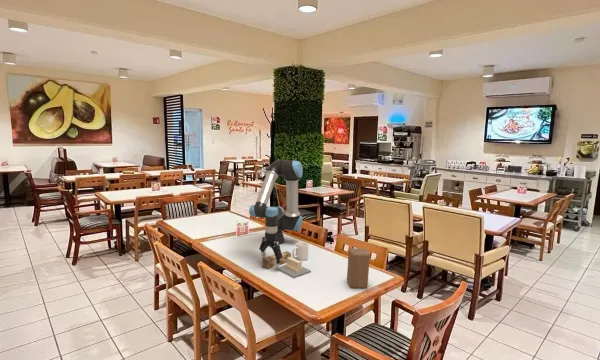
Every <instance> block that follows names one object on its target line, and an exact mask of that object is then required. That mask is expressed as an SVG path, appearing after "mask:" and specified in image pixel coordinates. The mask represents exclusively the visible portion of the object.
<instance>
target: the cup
mask: <svg viewBox="0 0 600 360" xmlns="http://www.w3.org/2000/svg"><path fill="white" fill-rule="evenodd" d="M291 256H292V258H294V259H296V260H299V261H301V262H303V261H307V260H308V258H309V243H308V242H305V241H299V242H296V244H295V246H294V247H293V249H292V253H291Z"/></svg>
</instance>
